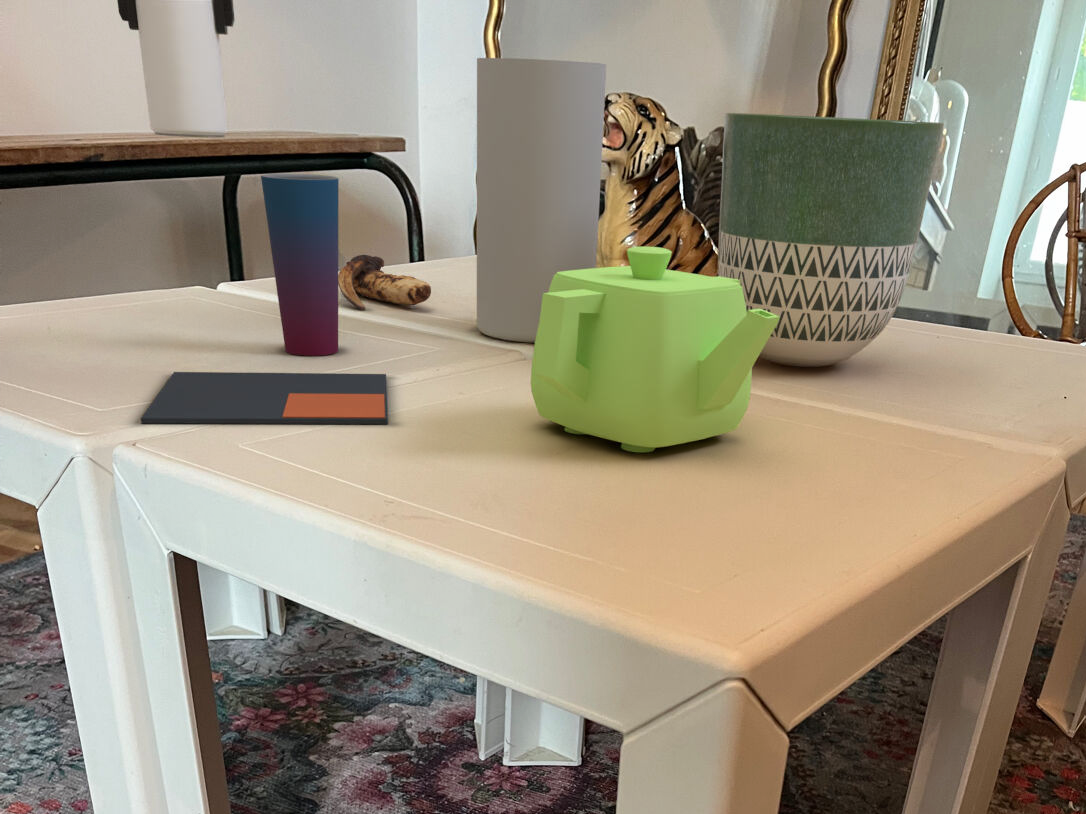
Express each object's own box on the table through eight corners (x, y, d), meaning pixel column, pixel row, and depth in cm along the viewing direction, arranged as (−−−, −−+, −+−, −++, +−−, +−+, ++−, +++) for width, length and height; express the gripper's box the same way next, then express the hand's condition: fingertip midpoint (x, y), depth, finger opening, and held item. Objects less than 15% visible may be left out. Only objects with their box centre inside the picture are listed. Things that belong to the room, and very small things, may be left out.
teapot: (834, 445, 85) (864, 259, 79) (656, 492, 73) (674, 276, 66) (655, 397, 96) (668, 231, 90) (475, 431, 84) (475, 242, 78)
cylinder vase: (603, 328, 125) (618, 66, 112) (577, 348, 114) (590, 61, 102) (496, 319, 127) (498, 61, 115) (461, 338, 117) (459, 56, 104)
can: (136, 134, 96) (114, -37, 90) (175, 133, 101) (157, -28, 96) (205, 138, 95) (188, -34, 89) (241, 137, 100) (227, -25, 94)
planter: (937, 382, 107) (989, 125, 96) (750, 386, 102) (783, 116, 91) (838, 342, 123) (873, 119, 112) (673, 345, 118) (693, 111, 107)
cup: (362, 350, 109) (354, 178, 102) (315, 360, 104) (303, 180, 97) (308, 341, 112) (297, 173, 105) (260, 351, 107) (244, 174, 99)
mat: (141, 423, 83) (140, 416, 82) (174, 376, 96) (173, 370, 96) (387, 424, 85) (387, 417, 85) (386, 378, 99) (386, 372, 99)
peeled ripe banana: (306, 297, 138) (378, 316, 126) (302, 256, 136) (375, 271, 124) (373, 290, 143) (449, 308, 131) (370, 250, 141) (446, 264, 128)
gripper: (251, -206, 90) (269, 38, 99) (62, -223, 88) (97, 29, 96) (243, -229, 84) (263, 35, 92) (39, -248, 82) (79, 25, 90)
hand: (178, 31), depth 94 cm, fingers closed on can, 6 cm apart
